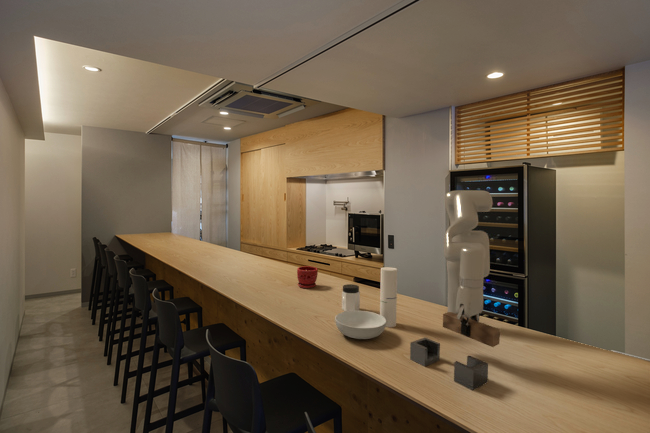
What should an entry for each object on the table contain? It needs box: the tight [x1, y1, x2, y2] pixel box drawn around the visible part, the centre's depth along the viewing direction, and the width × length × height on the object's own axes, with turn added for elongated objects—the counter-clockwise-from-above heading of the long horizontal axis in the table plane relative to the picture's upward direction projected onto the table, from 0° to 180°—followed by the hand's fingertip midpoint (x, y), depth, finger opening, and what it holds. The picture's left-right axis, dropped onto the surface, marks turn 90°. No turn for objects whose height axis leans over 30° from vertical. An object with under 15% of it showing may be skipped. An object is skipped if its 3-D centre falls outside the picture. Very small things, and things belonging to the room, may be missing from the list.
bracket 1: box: [409, 337, 441, 367], centre depth 117 cm, size 6×8×6 cm
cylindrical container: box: [379, 266, 398, 328], centre depth 150 cm, size 7×7×25 cm
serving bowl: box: [334, 310, 386, 340], centre depth 139 cm, size 21×21×7 cm
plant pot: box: [296, 265, 319, 289], centre depth 216 cm, size 13×13×12 cm
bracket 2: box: [453, 355, 489, 391], centre depth 103 cm, size 6×8×6 cm
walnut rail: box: [442, 311, 501, 348], centre depth 118 cm, size 19×4×5 cm, turn 35°
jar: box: [341, 283, 361, 312], centre depth 170 cm, size 9×8×12 cm
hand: (469, 332), depth 118 cm, fingers closed on walnut rail, 4 cm apart
